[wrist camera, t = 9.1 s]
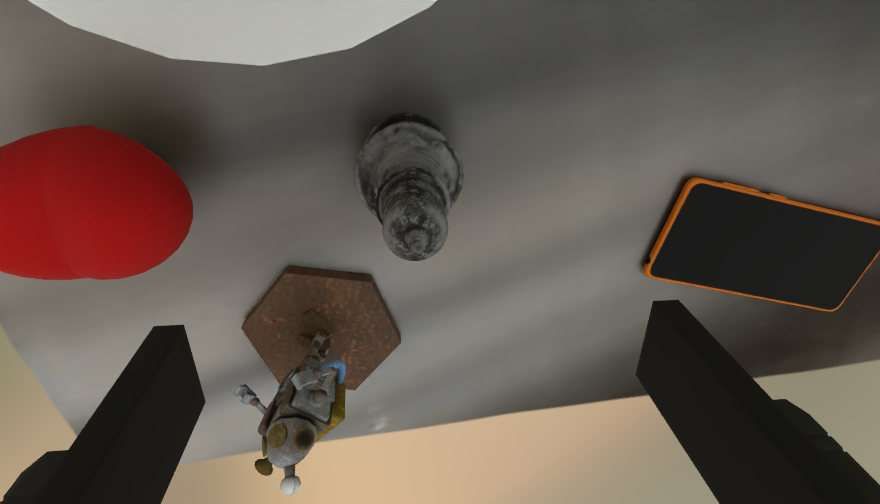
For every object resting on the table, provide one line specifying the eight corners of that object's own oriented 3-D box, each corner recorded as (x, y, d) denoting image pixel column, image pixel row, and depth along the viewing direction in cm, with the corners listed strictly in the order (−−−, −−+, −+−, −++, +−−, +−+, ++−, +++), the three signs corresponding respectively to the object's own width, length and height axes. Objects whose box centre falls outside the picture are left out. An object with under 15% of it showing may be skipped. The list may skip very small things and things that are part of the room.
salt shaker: (466, 120, 30) (510, 194, 19) (442, 210, 32) (470, 320, 22) (366, 97, 28) (354, 163, 18) (350, 193, 31) (331, 301, 20)
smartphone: (828, 308, 39) (837, 315, 38) (637, 271, 35) (642, 277, 35) (891, 221, 35) (902, 226, 35) (686, 170, 32) (694, 175, 31)
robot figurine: (315, 232, 32) (279, 354, 21) (427, 306, 35) (444, 442, 25) (224, 344, 35) (154, 498, 25) (334, 402, 39) (315, 558, 28)
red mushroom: (220, 104, 28) (143, 158, 19) (238, 219, 31) (179, 311, 22) (40, 99, 27) (-130, 153, 18) (77, 219, 30) (-51, 315, 21)
